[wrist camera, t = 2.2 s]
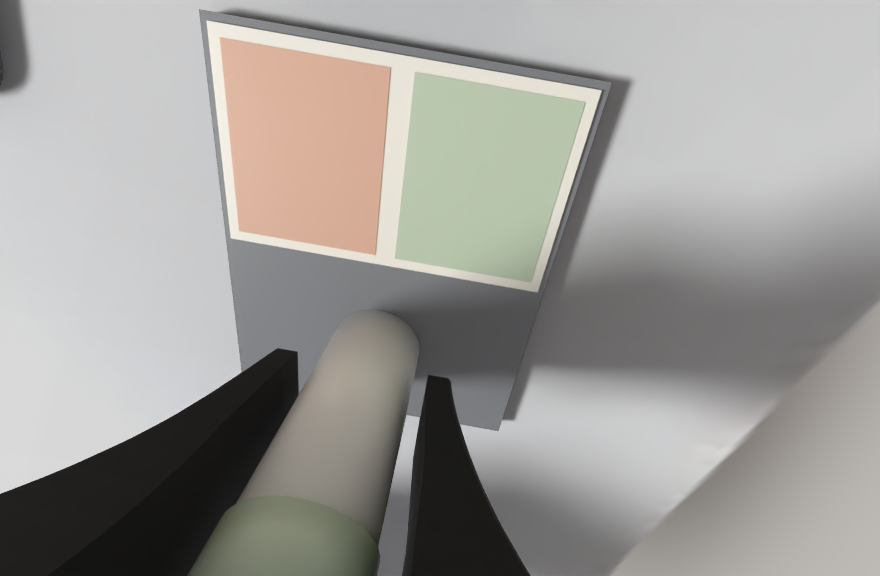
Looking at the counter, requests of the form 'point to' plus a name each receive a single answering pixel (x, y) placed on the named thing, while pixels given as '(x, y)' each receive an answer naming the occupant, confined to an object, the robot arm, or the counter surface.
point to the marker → (325, 463)
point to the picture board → (392, 196)
